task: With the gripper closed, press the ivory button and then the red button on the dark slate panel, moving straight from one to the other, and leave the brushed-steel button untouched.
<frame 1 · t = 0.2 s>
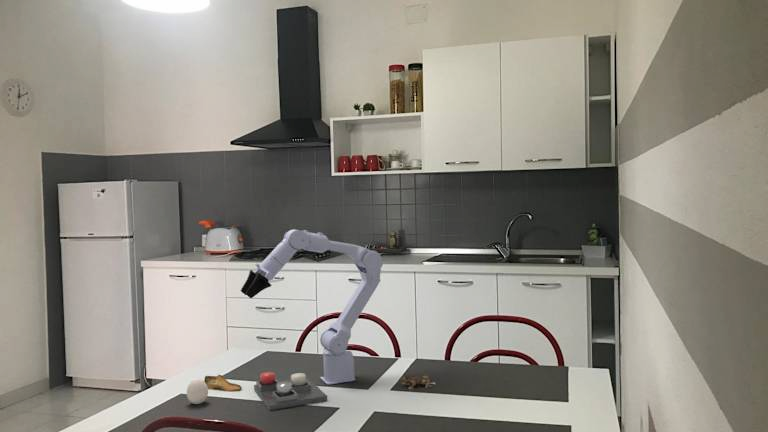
hand: (245, 294, 197), 31 cm above the table, tool tilted 45°, fingers open, 7 cm apart
red button: (267, 378, 200), point 4 cm above the table, slide at 0.0 cm
shoe last: (223, 389, 206), on the table
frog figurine: (417, 386, 202), on the table
ivory button: (298, 379, 198), point 4 cm above the table, slide at 0.0 cm
steel button: (284, 388, 189), point 4 cm above the table, slide at 0.0 cm
egg: (198, 404, 192), on the table
slate panel: (289, 395, 197), on the table
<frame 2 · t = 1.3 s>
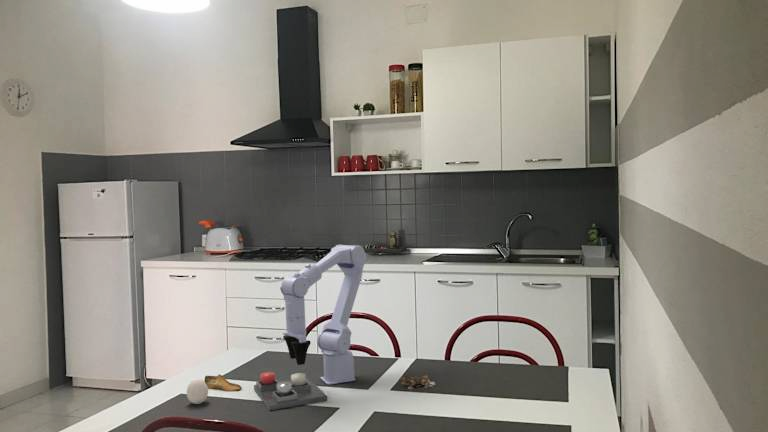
hand: (297, 361, 197), 10 cm above the table, tool pointing down, fingers open, 7 cm apart
nothing on the table moved.
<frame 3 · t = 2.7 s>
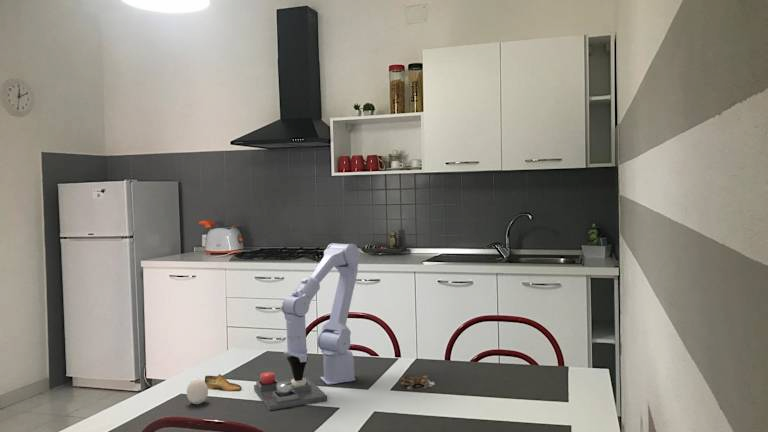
hand: (298, 380, 198), 4 cm above the table, tool pointing down, fingers closed, pressing on ivory button
ivory button: (298, 383, 198), point 3 cm above the table, slide at 1.4 cm, touching gripper
everything else where it was.
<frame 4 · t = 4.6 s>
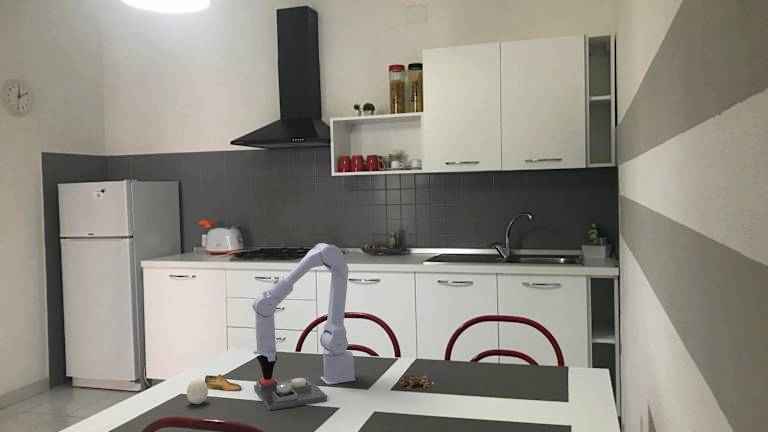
hand: (267, 379, 200), 4 cm above the table, tool pointing down, fingers closed, pressing on red button
red button: (268, 382, 200), point 3 cm above the table, slide at 1.5 cm, touching gripper
ivory button: (298, 384, 198), point 3 cm above the table, slide at 1.5 cm
everything else where it was.
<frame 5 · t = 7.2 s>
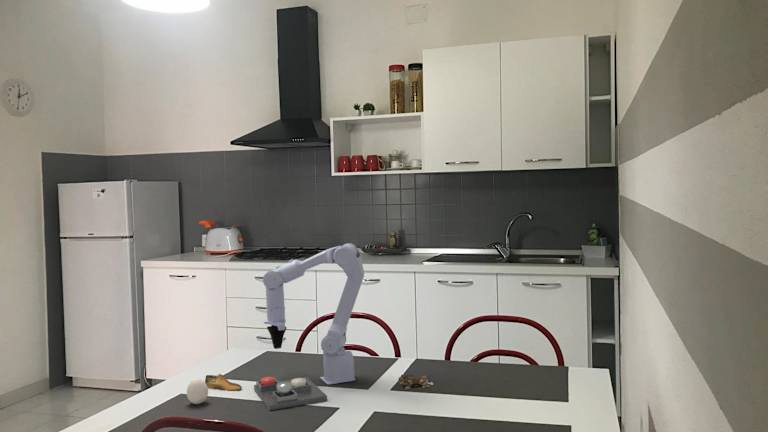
hand: (277, 348, 212), 10 cm above the table, tool pointing down, fingers closed
red button: (268, 382, 200), point 3 cm above the table, slide at 1.5 cm
everything else where it was.
at the end: ivory button slide at 1.5 cm; red button slide at 1.5 cm; steel button slide at 0.0 cm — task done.
